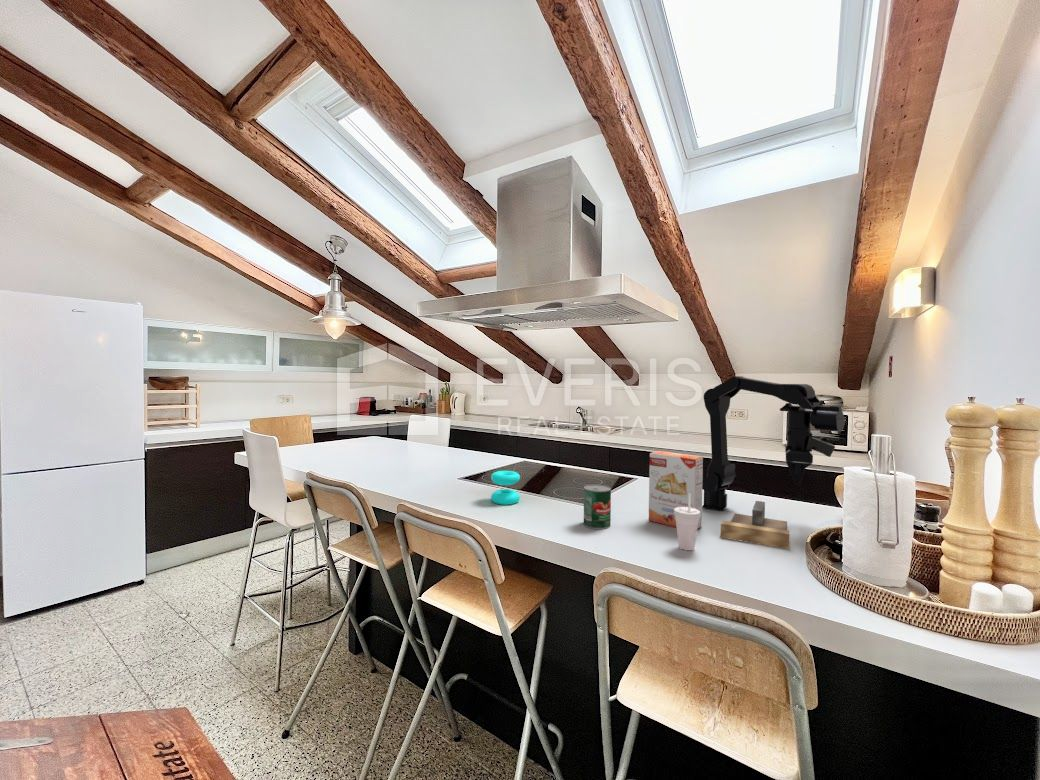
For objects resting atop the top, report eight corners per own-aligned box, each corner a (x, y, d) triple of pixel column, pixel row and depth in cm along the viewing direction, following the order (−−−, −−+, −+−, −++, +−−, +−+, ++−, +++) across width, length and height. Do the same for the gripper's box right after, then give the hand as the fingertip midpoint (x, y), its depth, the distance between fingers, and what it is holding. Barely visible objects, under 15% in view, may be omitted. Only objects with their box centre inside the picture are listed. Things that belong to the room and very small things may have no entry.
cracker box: (647, 521, 134) (648, 452, 133) (656, 516, 138) (657, 449, 137) (694, 532, 124) (695, 458, 124) (702, 527, 129) (703, 455, 128)
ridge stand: (729, 527, 129) (729, 506, 129) (734, 516, 139) (735, 497, 139) (785, 537, 121) (786, 515, 121) (786, 524, 131) (787, 504, 131)
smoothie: (697, 554, 109) (698, 498, 108) (670, 549, 112) (671, 494, 112) (702, 546, 114) (703, 492, 114) (676, 541, 117) (677, 488, 117)
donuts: (492, 469, 159) (520, 469, 159) (492, 497, 159) (519, 497, 159) (489, 476, 149) (519, 476, 149) (489, 505, 149) (519, 505, 149)
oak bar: (720, 538, 121) (720, 523, 121) (721, 534, 123) (721, 520, 123) (789, 549, 113) (789, 534, 113) (788, 546, 116) (789, 530, 116)
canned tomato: (590, 518, 136) (591, 483, 136) (615, 523, 131) (615, 486, 131) (578, 525, 129) (578, 488, 129) (603, 531, 125) (604, 492, 125)
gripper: (836, 433, 115) (834, 493, 115) (830, 426, 131) (828, 479, 132) (786, 430, 121) (784, 487, 121) (786, 424, 137) (784, 474, 137)
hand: (797, 482), depth 128 cm, fingers open, 9 cm apart
